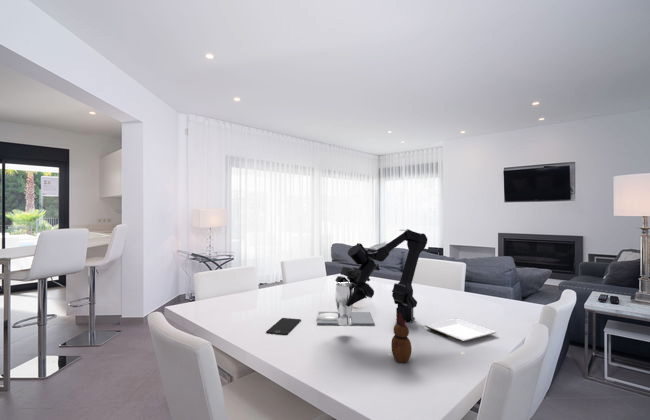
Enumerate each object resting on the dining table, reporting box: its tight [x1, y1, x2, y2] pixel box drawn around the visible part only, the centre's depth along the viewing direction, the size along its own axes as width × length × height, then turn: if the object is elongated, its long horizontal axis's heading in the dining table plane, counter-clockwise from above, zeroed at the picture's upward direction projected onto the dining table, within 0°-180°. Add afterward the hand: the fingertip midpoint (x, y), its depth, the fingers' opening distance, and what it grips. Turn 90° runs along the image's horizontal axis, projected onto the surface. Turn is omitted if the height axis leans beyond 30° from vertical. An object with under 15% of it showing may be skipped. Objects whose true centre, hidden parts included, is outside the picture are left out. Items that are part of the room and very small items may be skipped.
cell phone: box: [265, 317, 302, 336], centre depth 132 cm, size 9×18×1 cm, turn 166°
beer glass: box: [335, 282, 354, 327], centre depth 124 cm, size 7×7×15 cm
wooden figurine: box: [390, 311, 413, 364], centre depth 101 cm, size 7×6×15 cm
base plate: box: [316, 311, 376, 326], centre depth 142 cm, size 24×16×1 cm, turn 89°
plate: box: [424, 318, 497, 343], centre depth 125 cm, size 19×19×2 cm
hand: (341, 303), depth 123 cm, fingers closed on beer glass, 7 cm apart
